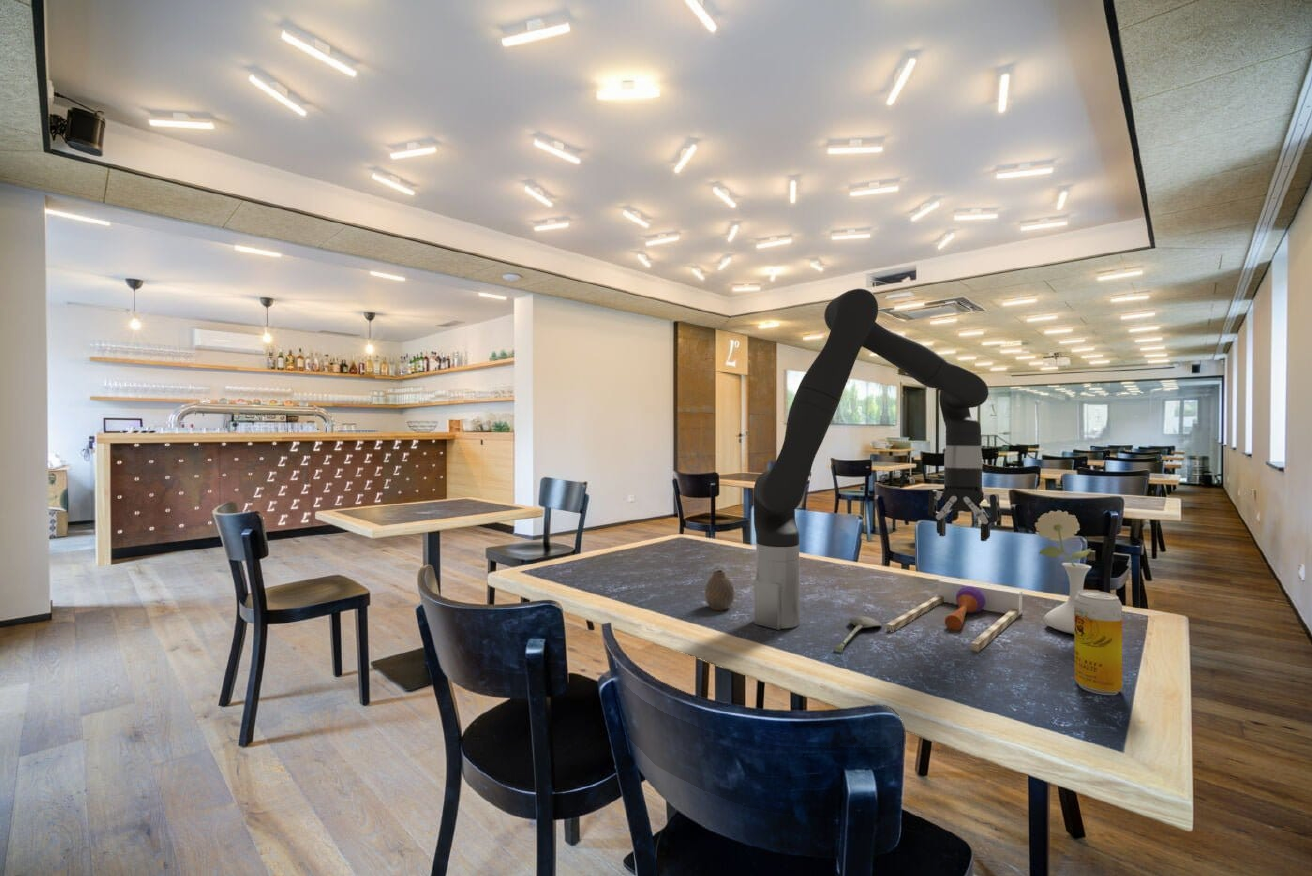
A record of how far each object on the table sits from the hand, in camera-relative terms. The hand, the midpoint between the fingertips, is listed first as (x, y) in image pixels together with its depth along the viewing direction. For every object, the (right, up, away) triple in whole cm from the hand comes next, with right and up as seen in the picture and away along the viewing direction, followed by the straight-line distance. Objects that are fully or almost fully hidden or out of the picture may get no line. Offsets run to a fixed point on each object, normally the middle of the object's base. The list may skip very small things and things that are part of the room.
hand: (962, 538), depth 129 cm
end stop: (+8, -18, +8) cm, 21 cm away
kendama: (0, -18, 0) cm, 18 cm away
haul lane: (-4, -18, -4) cm, 19 cm away
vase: (-54, -18, +8) cm, 57 cm away
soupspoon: (-28, -19, -12) cm, 36 cm away
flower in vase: (+18, -18, -9) cm, 27 cm away
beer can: (+2, -18, -37) cm, 41 cm away
